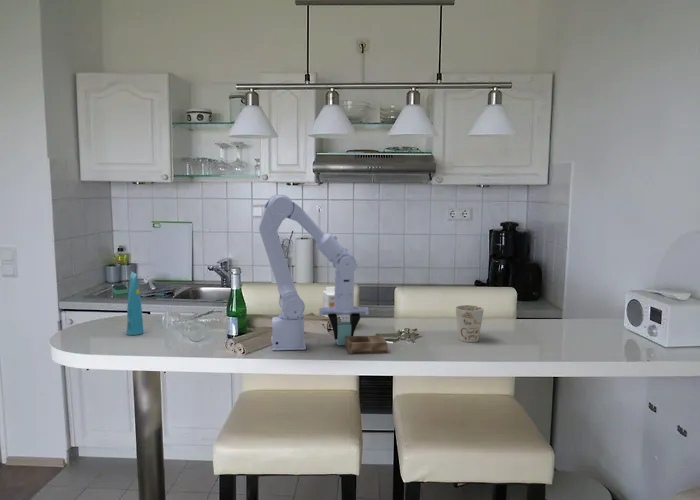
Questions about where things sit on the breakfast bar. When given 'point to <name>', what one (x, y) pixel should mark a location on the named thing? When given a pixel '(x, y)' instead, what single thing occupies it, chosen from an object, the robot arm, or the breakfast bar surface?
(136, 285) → the tube
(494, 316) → the breakfast bar surface
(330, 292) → the ink box
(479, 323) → the mug
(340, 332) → the teal block
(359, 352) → the walnut base
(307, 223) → the robot arm
